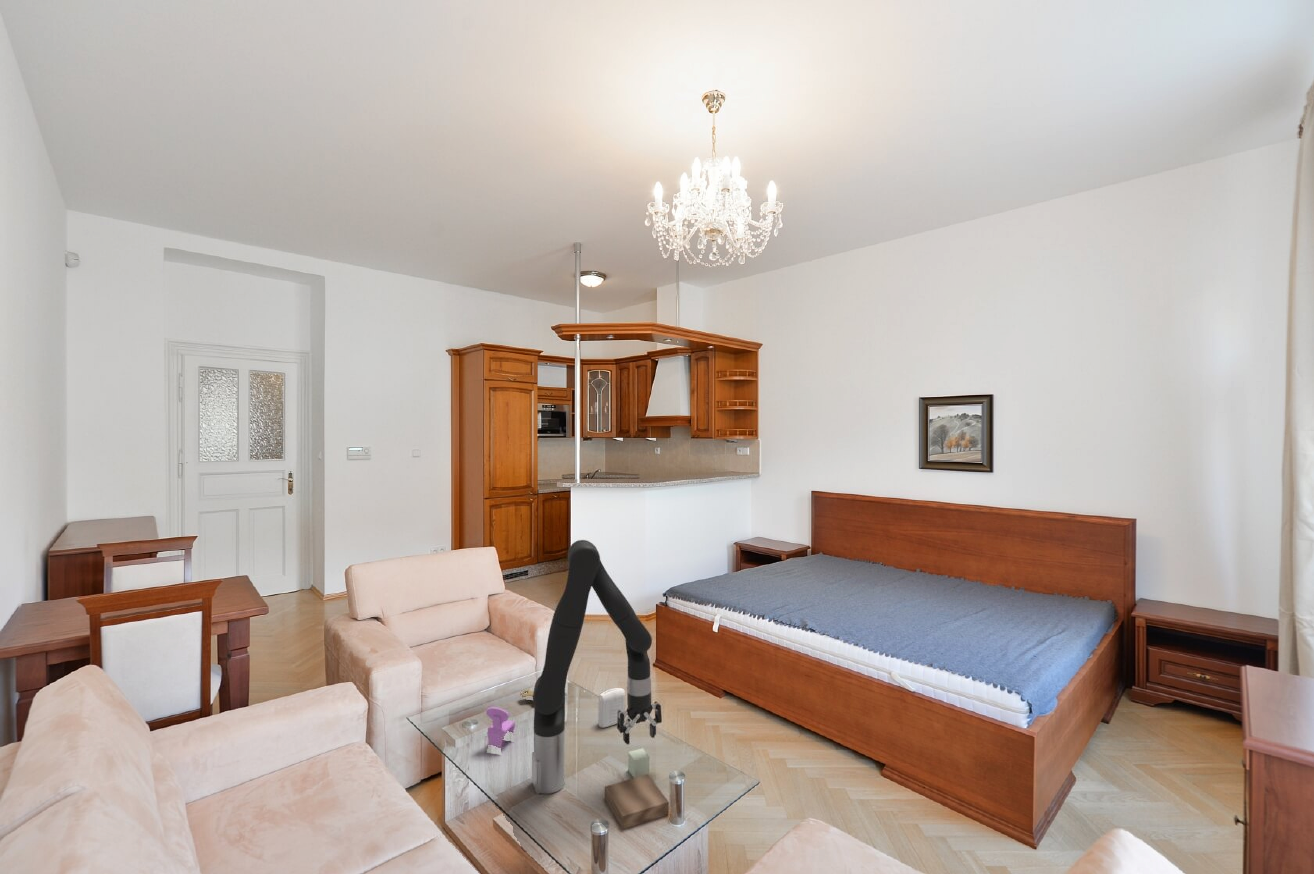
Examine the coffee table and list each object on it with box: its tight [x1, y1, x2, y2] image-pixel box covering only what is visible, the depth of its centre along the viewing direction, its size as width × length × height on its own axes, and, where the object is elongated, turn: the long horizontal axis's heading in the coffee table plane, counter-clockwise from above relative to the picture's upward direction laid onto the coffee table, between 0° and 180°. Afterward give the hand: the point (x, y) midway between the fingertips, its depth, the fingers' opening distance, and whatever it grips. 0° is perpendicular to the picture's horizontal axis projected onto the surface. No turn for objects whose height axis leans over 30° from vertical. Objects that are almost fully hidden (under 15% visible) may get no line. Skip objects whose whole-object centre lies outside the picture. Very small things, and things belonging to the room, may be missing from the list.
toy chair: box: [485, 706, 516, 749], centre depth 198 cm, size 8×9×15 cm
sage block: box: [627, 747, 650, 779], centre depth 185 cm, size 5×5×6 cm
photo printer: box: [597, 687, 626, 729], centre depth 214 cm, size 10×4×12 cm, turn 123°
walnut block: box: [604, 774, 670, 830], centre depth 169 cm, size 14×14×4 cm
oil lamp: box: [520, 689, 534, 698], centre depth 228 cm, size 11×14×5 cm
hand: (639, 739), depth 184 cm, fingers open, 8 cm apart
